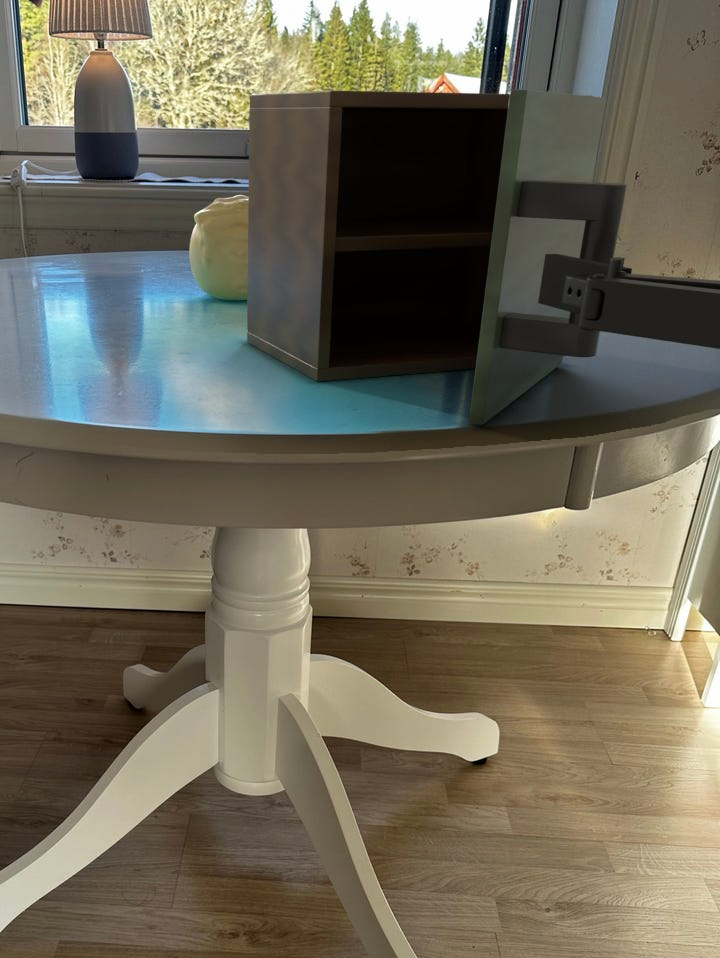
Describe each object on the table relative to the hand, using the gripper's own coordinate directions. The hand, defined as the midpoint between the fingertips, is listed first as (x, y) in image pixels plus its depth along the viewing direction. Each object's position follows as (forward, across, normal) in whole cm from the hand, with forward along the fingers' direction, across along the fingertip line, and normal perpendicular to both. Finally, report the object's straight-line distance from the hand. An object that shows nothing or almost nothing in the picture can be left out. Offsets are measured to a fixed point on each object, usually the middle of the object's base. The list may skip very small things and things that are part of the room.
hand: (641, 274), depth 58 cm
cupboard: (+28, -1, -10) cm, 30 cm away
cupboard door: (+10, +3, -10) cm, 14 cm away
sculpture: (+60, -4, -10) cm, 61 cm away
